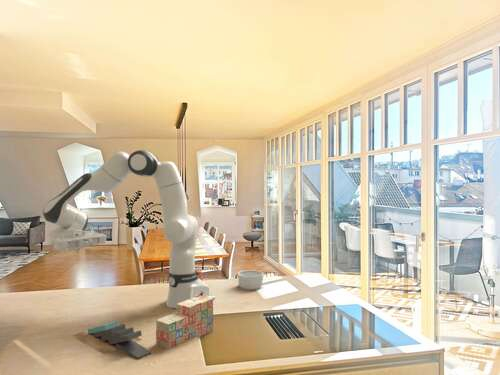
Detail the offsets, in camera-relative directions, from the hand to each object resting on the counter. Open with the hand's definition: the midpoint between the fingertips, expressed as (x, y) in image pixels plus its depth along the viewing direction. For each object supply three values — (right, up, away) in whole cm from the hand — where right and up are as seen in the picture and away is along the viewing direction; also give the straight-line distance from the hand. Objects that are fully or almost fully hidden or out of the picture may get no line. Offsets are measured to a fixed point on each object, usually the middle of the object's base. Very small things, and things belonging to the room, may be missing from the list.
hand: (90, 243), depth 153 cm
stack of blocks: (+41, -31, -18) cm, 54 cm away
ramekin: (+63, -29, +45) cm, 83 cm away
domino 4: (+18, -29, -23) cm, 41 cm away
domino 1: (+7, -29, -14) cm, 33 cm away
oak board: (+13, -31, -19) cm, 38 cm away
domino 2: (+11, -29, -17) cm, 35 cm away
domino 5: (+21, -29, -25) cm, 44 cm away
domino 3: (+15, -29, -20) cm, 38 cm away
